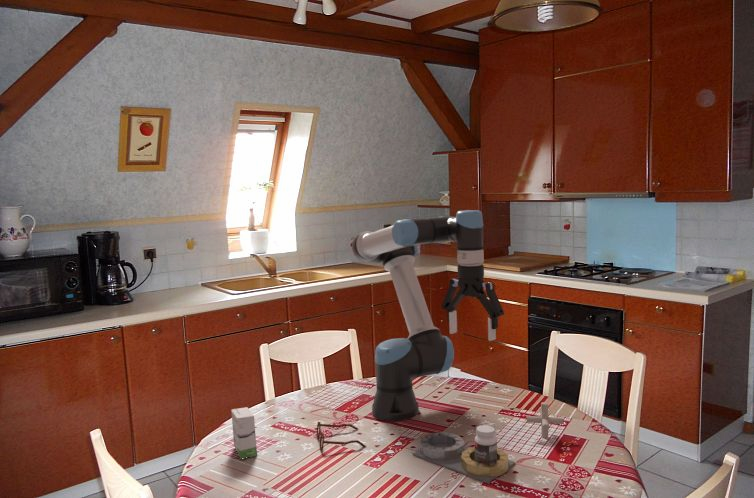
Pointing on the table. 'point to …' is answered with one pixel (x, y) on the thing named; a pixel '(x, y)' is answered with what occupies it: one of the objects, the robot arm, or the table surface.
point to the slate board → (457, 463)
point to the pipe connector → (544, 419)
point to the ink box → (244, 432)
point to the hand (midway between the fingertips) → (472, 336)
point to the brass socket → (484, 464)
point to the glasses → (334, 441)
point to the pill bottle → (485, 445)
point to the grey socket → (441, 453)
